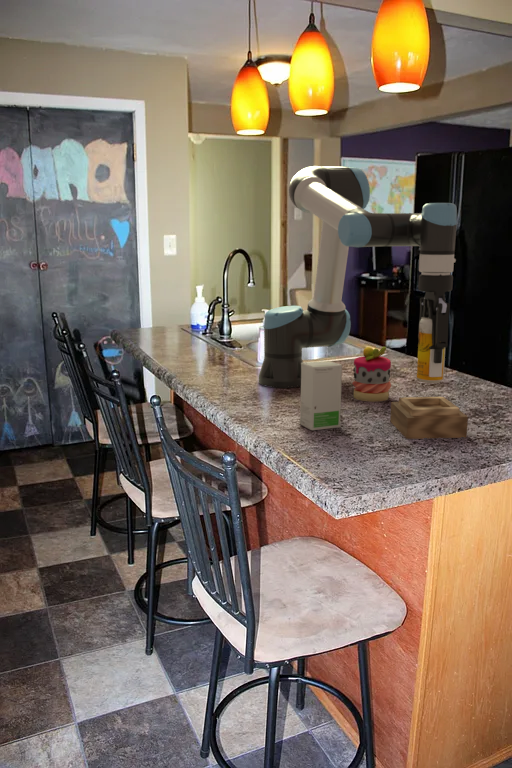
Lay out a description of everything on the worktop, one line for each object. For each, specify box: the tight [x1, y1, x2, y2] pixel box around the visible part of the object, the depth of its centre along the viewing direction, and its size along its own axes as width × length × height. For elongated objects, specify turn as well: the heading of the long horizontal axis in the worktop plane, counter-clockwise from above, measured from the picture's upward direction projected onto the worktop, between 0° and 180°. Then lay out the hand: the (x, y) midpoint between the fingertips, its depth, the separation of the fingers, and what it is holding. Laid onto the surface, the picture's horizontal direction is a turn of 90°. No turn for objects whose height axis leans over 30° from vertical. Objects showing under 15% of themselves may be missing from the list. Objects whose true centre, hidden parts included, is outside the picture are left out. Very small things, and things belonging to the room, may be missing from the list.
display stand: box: [390, 396, 469, 440], centre depth 157 cm, size 14×14×6 cm
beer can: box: [416, 317, 446, 384], centre depth 153 cm, size 6×6×15 cm
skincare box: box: [299, 360, 343, 431], centre depth 159 cm, size 8×7×16 cm
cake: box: [351, 346, 392, 403], centre depth 185 cm, size 10×11×15 cm
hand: (430, 373), depth 154 cm, fingers closed on beer can, 6 cm apart
